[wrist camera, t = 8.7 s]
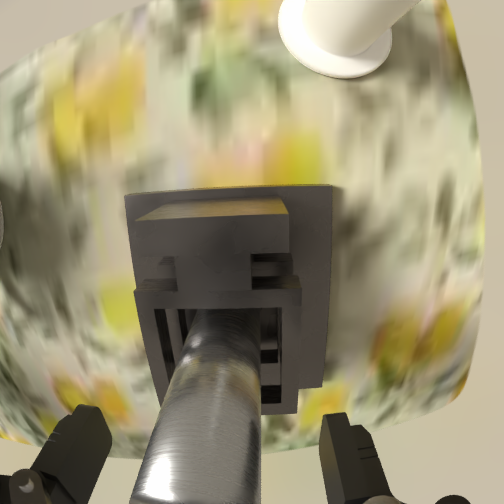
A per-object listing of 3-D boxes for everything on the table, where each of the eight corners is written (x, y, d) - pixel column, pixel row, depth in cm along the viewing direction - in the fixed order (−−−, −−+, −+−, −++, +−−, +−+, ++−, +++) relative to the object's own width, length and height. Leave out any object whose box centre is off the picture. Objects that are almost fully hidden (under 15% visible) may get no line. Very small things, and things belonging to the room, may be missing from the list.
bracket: (161, 380, 23) (134, 448, 16) (130, 193, 19) (69, 215, 12) (319, 378, 22) (337, 451, 15) (328, 184, 18) (367, 200, 12)
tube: (199, 278, 19) (111, 480, 6) (259, 276, 19) (258, 495, 6) (205, 333, 20) (151, 535, 7) (261, 332, 20) (261, 544, 7)
